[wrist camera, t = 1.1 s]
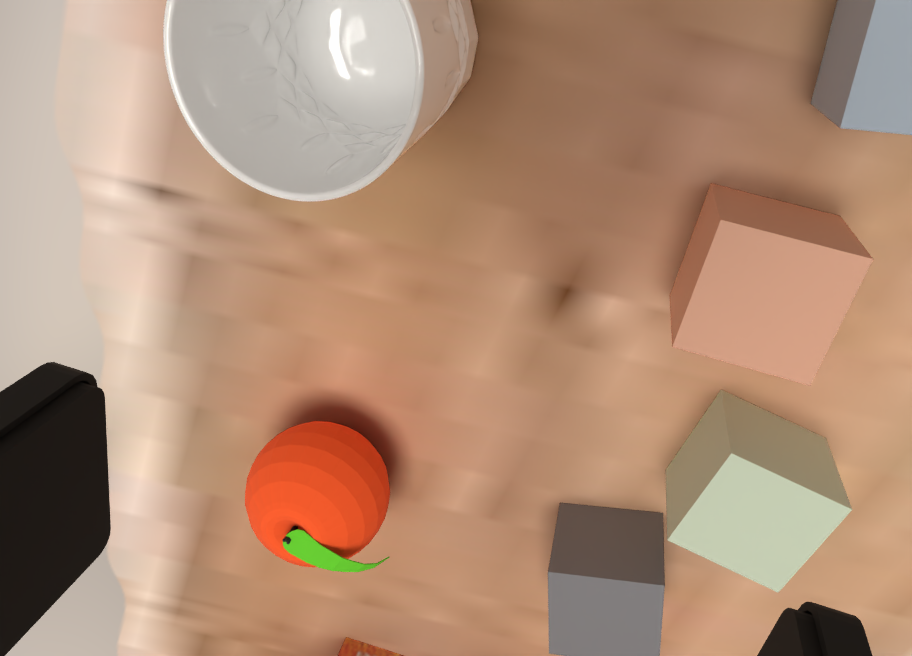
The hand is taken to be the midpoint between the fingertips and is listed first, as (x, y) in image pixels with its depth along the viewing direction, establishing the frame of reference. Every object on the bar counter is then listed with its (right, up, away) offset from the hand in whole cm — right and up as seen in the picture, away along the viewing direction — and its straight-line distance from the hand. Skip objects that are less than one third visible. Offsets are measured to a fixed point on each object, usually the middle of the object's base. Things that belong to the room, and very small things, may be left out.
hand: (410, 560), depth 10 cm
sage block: (+14, -3, +24) cm, 28 cm away
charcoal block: (+8, -8, +28) cm, 30 cm away
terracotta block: (+13, +6, +20) cm, 25 cm away
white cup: (-2, +15, +20) cm, 25 cm away
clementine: (-5, -4, +30) cm, 30 cm away
